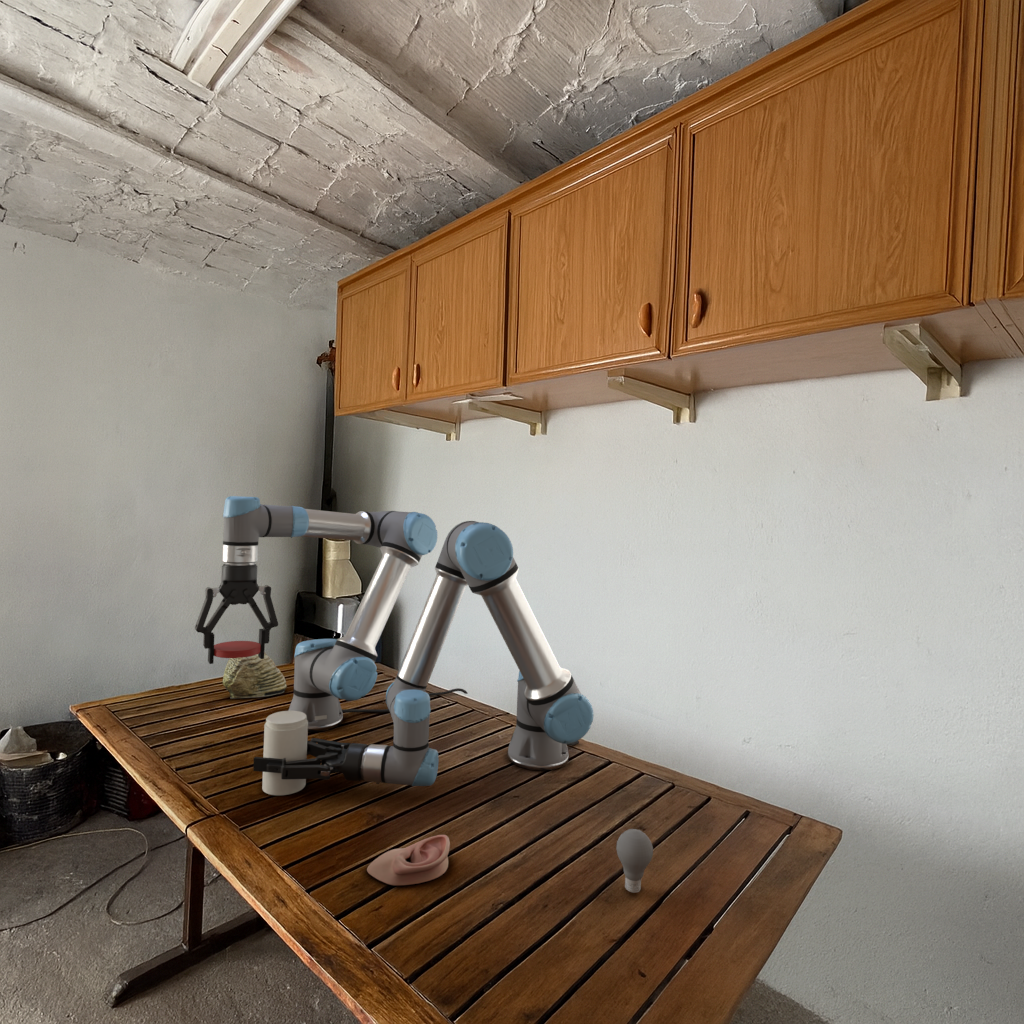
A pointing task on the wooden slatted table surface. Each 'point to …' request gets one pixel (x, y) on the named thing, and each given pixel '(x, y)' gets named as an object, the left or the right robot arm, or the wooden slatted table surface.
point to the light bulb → (634, 857)
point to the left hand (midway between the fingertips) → (236, 659)
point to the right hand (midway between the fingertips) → (265, 754)
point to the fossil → (253, 677)
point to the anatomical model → (412, 862)
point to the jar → (284, 749)
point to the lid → (236, 649)
